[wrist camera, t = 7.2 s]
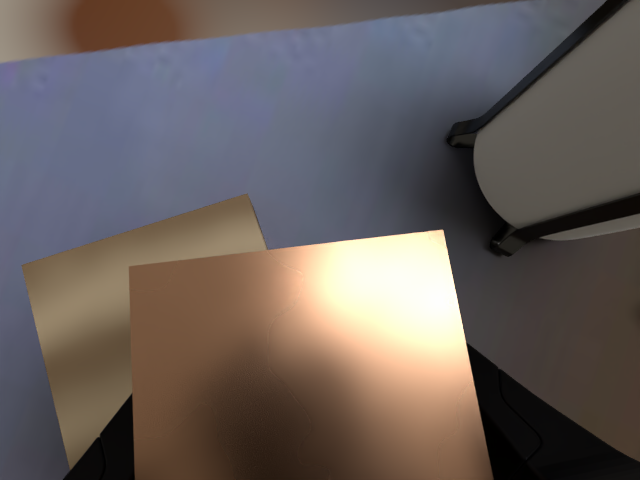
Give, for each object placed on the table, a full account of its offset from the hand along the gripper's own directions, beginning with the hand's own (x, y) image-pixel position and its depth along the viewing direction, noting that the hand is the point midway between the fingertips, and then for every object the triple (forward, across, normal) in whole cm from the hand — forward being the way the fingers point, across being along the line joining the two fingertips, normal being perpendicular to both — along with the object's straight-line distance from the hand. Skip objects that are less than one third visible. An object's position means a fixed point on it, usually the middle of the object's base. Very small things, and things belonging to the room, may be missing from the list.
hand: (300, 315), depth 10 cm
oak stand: (+9, +8, +10) cm, 15 cm away
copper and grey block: (+2, 0, +4) cm, 5 cm away
